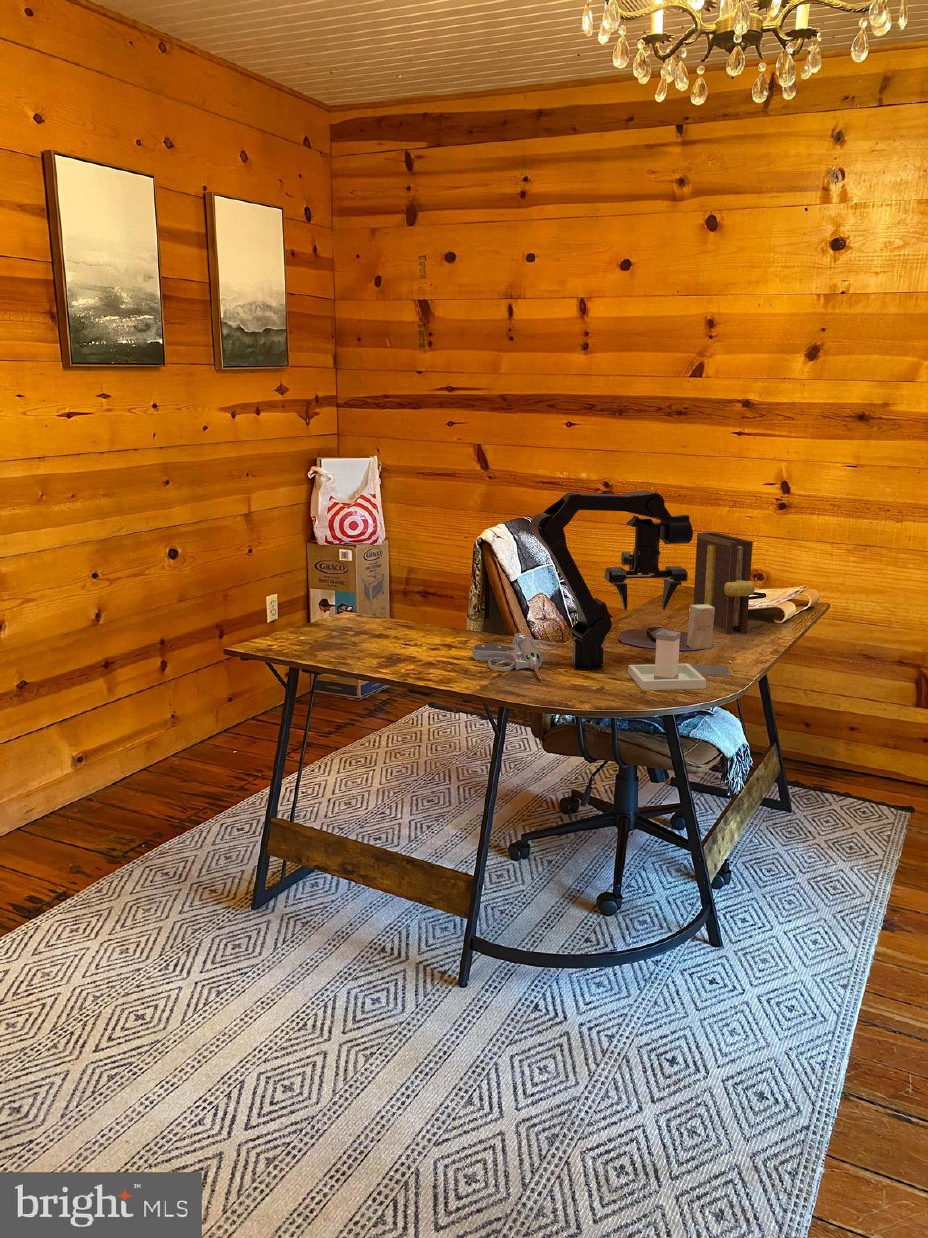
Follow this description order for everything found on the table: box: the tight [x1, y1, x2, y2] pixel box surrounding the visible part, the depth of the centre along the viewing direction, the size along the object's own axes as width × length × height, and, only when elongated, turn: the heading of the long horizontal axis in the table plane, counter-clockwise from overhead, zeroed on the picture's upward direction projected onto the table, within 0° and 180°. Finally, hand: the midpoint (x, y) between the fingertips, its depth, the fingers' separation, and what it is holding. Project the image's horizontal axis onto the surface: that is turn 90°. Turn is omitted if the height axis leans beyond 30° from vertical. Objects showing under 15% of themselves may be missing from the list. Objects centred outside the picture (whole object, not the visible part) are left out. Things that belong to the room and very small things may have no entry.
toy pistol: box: [472, 632, 543, 680], centre depth 230 cm, size 6×28×16 cm
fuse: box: [654, 629, 682, 680], centre depth 214 cm, size 4×4×11 cm
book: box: [692, 531, 756, 636], centre depth 265 cm, size 22×8×25 cm, turn 17°
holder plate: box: [688, 663, 731, 677], centre depth 224 cm, size 10×8×1 cm
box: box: [686, 604, 715, 650], centre depth 244 cm, size 5×4×11 cm
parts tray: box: [627, 663, 707, 691], centre depth 216 cm, size 14×13×2 cm
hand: (644, 609), depth 229 cm, fingers open, 9 cm apart
